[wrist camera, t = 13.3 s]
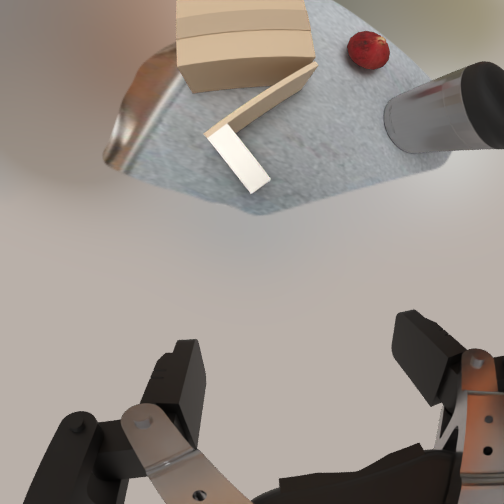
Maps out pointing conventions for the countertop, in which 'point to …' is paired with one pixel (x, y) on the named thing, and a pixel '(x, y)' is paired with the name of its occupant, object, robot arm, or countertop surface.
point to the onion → (368, 50)
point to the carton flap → (225, 130)
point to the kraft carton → (241, 42)
